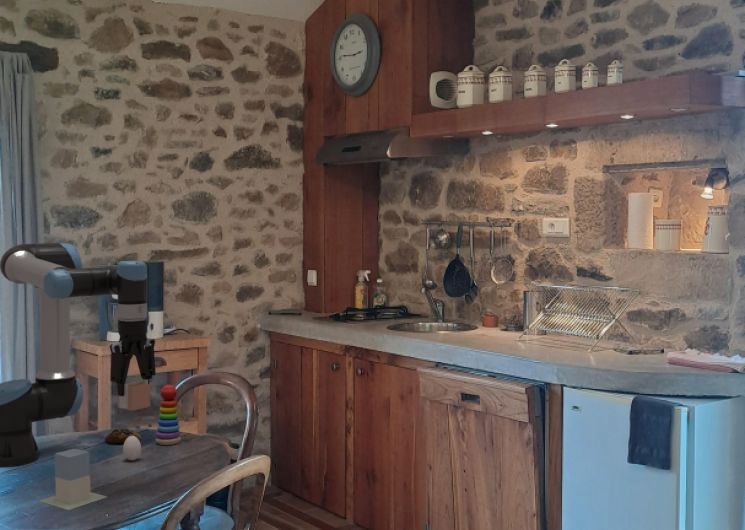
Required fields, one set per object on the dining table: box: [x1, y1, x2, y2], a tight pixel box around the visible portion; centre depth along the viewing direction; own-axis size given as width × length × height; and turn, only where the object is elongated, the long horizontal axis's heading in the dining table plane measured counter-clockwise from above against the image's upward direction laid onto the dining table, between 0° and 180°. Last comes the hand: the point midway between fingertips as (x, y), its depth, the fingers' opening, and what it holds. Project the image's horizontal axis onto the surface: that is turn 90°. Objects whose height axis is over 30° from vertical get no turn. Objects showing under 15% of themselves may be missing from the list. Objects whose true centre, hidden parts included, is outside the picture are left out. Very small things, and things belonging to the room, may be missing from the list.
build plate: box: [39, 491, 108, 511], centre depth 224 cm, size 12×12×1 cm
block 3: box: [116, 381, 151, 411], centre depth 233 cm, size 6×6×6 cm
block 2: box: [54, 474, 91, 504], centre depth 223 cm, size 6×6×6 cm
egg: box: [122, 436, 142, 461], centre depth 261 cm, size 5×5×7 cm
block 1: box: [54, 448, 91, 481], centre depth 223 cm, size 6×6×6 cm
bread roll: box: [104, 428, 142, 446], centre depth 284 cm, size 11×11×5 cm
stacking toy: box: [155, 384, 182, 446], centre depth 281 cm, size 8×8×19 cm
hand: (133, 405), depth 233 cm, fingers closed on block 3, 6 cm apart
